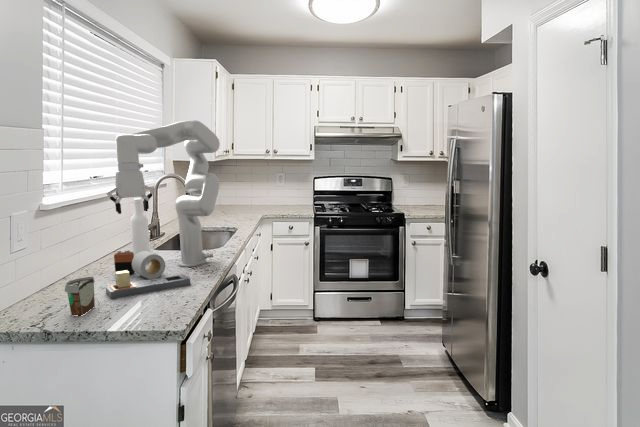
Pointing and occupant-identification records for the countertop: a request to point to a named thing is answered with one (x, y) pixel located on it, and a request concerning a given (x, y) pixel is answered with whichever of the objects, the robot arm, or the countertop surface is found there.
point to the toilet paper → (155, 267)
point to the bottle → (139, 229)
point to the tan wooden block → (122, 279)
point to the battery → (124, 261)
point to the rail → (148, 286)
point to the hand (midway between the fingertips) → (132, 212)
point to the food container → (80, 295)
